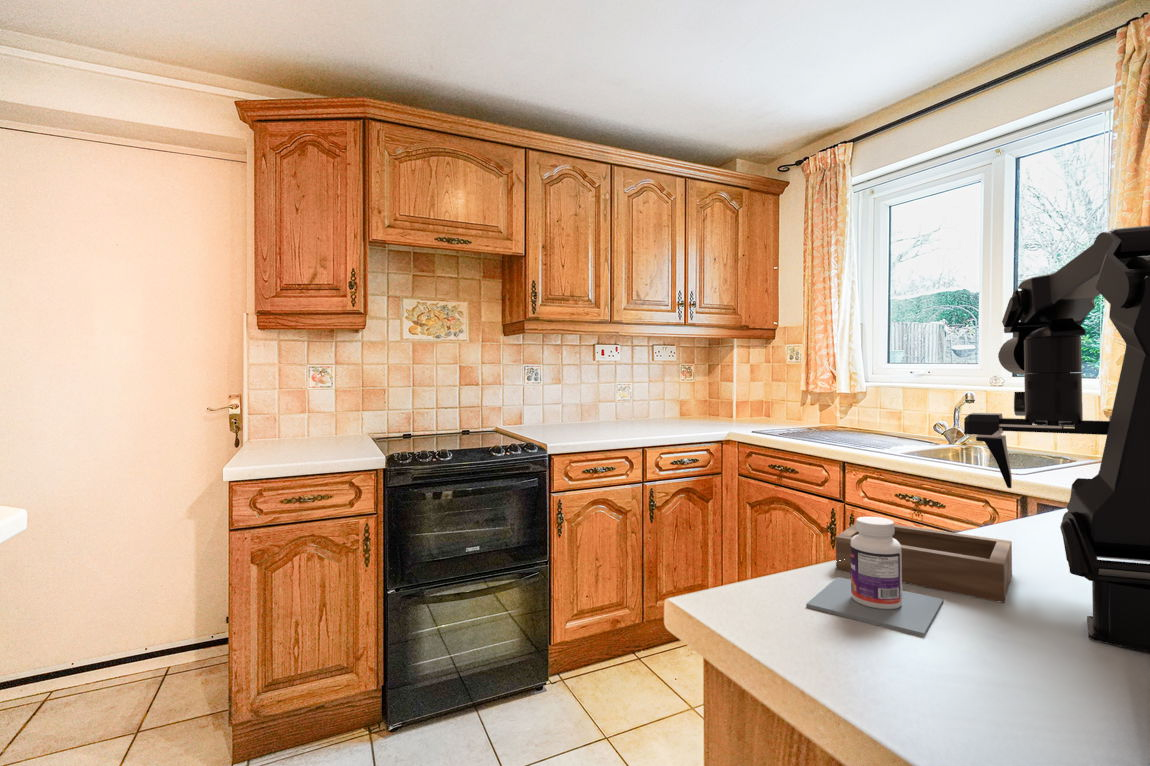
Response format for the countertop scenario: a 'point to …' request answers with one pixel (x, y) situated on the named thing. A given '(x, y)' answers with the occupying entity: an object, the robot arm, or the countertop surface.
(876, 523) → the pill bottle
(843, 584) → the mat
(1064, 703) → the countertop surface
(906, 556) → the slot box
